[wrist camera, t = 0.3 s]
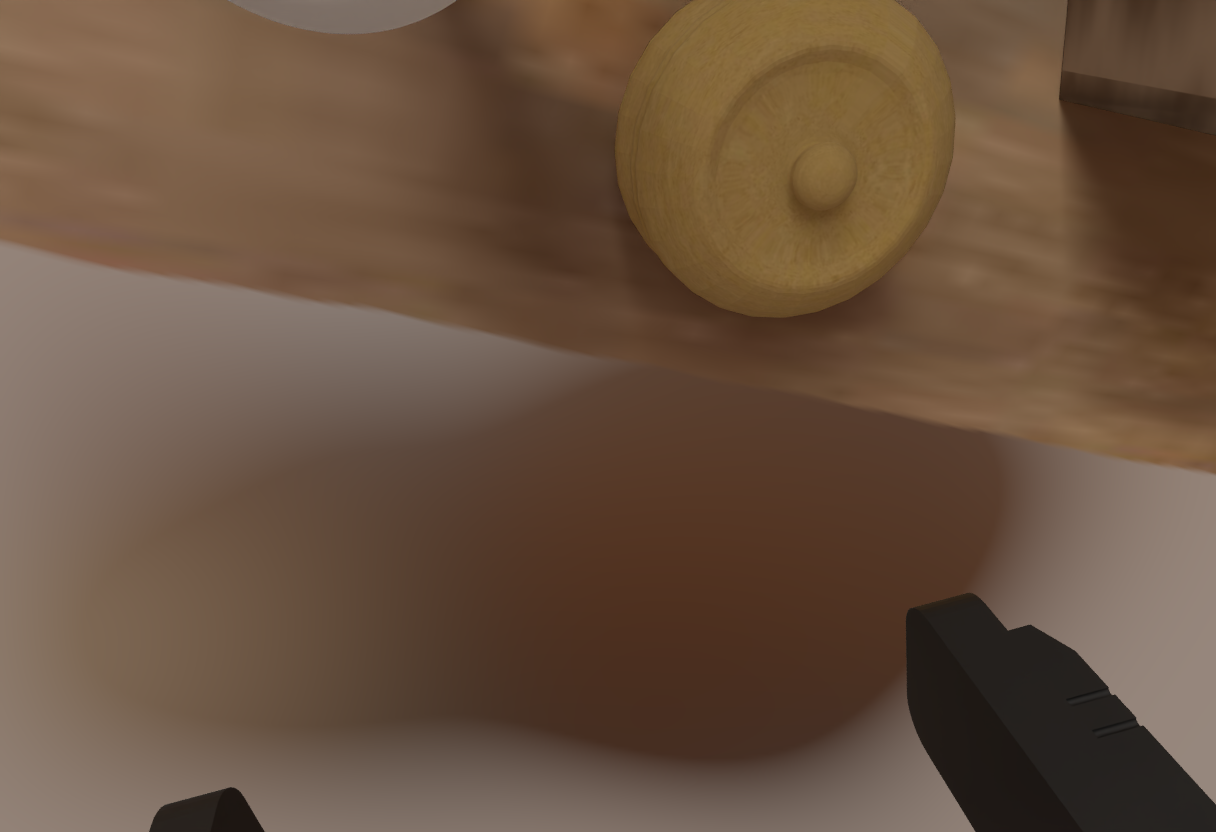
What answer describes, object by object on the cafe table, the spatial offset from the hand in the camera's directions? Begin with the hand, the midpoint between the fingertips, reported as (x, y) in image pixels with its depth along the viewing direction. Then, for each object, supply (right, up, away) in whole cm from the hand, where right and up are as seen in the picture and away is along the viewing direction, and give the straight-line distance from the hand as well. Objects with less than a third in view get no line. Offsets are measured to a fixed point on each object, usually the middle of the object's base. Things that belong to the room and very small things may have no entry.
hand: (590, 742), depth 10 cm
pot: (+6, +16, +26) cm, 31 cm away
